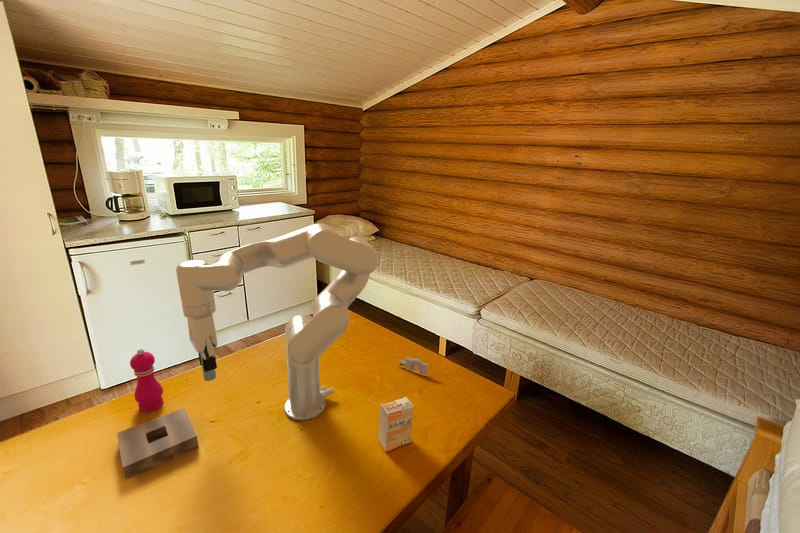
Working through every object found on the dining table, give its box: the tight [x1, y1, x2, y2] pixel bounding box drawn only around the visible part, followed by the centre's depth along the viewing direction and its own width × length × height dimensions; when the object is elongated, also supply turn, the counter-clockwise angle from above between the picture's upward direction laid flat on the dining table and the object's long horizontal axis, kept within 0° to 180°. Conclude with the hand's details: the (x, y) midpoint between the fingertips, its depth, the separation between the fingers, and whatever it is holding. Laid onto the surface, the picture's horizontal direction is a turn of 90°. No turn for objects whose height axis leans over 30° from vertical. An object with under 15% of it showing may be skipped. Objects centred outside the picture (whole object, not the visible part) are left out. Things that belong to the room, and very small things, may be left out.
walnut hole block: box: [116, 407, 200, 481], centre depth 96 cm, size 16×14×4 cm
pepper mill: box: [129, 348, 164, 413], centre depth 108 cm, size 7×7×20 cm
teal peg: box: [200, 347, 217, 382], centre depth 99 cm, size 3×3×11 cm
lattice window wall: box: [398, 356, 430, 375], centre depth 134 cm, size 12×2×6 cm, turn 60°
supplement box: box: [378, 396, 414, 453], centre depth 100 cm, size 8×5×13 cm, turn 117°
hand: (208, 366), depth 100 cm, fingers closed on teal peg, 3 cm apart
